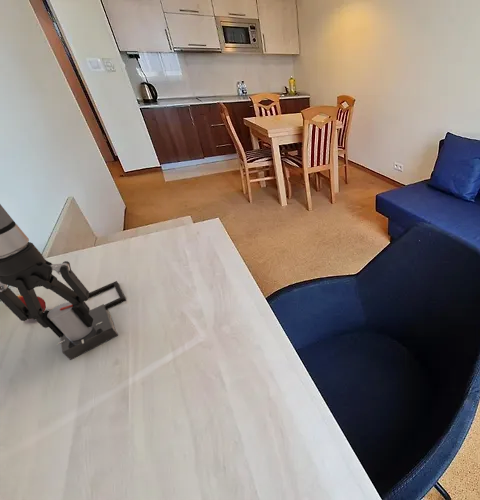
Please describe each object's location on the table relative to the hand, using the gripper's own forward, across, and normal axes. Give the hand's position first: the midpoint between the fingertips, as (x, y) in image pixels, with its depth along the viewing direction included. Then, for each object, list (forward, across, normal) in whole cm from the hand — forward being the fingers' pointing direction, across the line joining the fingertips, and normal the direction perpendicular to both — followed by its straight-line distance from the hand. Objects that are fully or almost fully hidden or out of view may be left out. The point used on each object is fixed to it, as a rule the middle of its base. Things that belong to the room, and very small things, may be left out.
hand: (76, 328), depth 73 cm
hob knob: (+2, 0, 0) cm, 2 cm away
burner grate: (+5, -1, -16) cm, 17 cm away
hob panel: (+5, 0, -2) cm, 5 cm away
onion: (+5, +14, -19) cm, 24 cm away
